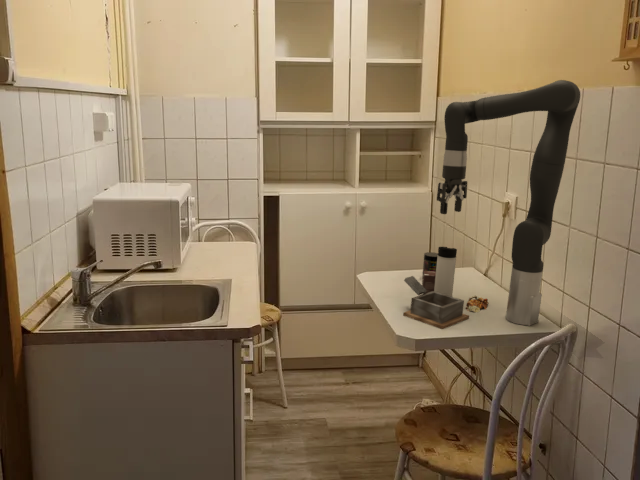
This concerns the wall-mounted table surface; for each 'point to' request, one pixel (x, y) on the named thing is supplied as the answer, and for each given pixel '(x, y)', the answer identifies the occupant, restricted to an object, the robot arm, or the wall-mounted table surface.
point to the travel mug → (445, 270)
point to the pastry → (476, 304)
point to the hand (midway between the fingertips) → (450, 212)
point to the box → (429, 280)
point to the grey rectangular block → (415, 285)
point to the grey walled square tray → (437, 310)
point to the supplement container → (430, 262)
